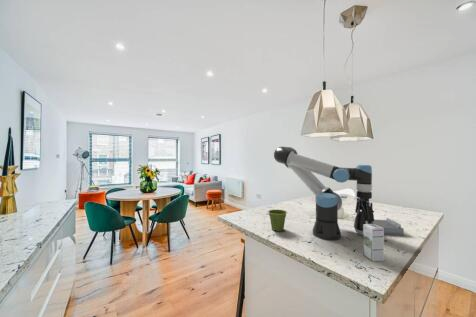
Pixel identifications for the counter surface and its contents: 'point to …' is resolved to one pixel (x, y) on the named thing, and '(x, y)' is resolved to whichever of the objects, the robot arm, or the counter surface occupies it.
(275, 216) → the plant pot
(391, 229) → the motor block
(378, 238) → the syrup box
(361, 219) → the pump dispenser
